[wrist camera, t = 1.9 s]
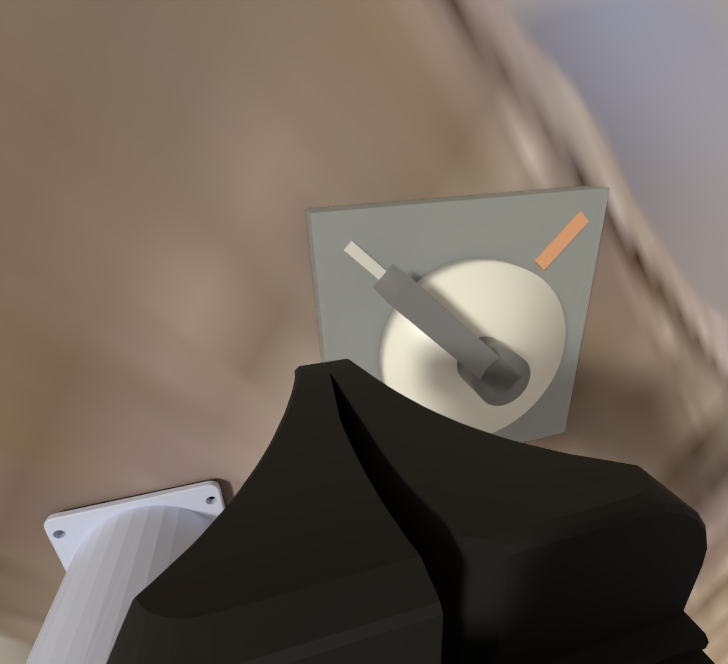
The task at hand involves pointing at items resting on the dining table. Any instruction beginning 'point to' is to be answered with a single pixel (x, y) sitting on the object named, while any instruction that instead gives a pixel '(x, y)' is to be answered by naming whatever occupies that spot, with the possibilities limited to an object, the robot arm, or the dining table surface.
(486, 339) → the dial
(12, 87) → the dining table surface
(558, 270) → the dial plate
